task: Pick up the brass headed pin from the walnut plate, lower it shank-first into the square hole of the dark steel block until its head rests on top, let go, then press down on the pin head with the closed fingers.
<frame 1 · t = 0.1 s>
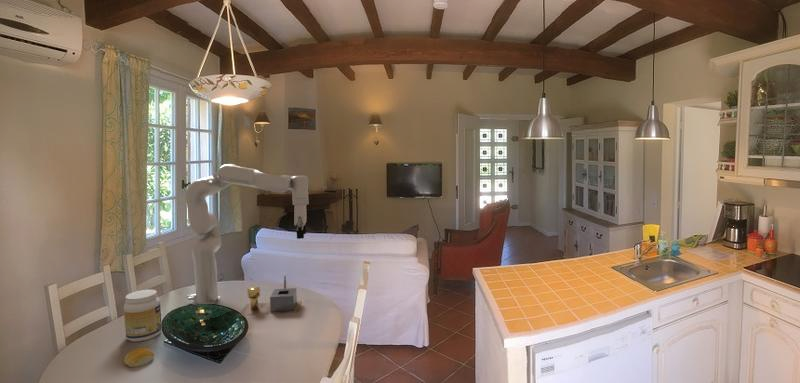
hand: (301, 236, 191), 31 cm above the table, tool pointing down, fingers open, 9 cm apart
hitch block: (284, 307, 179), resting on mount plate
tow hook: (288, 299, 194), on the table
bread roll: (139, 361, 137), on the table
supplement tub: (144, 335, 156), on the table
brass pin: (254, 308, 178), point 1 cm above the table, touching mount plate
mount plate: (271, 311, 179), on the table
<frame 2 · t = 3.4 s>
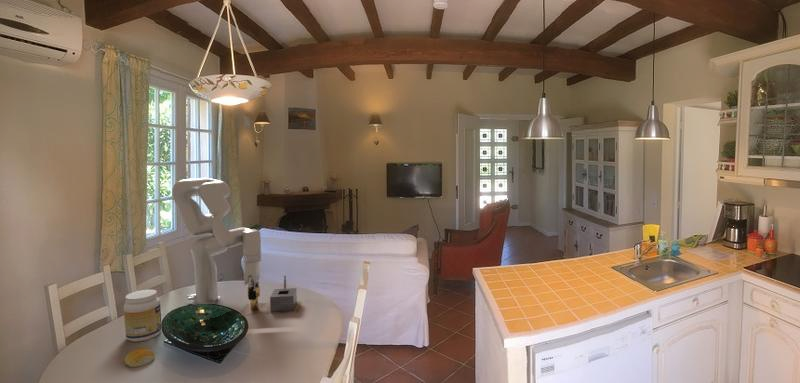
hand: (253, 296, 177), 7 cm above the table, tool pointing down, fingers closed on brass pin, 5 cm apart
brass pin: (254, 308, 178), point 2 cm above the table, touching gripper, mount plate
everything else where it was.
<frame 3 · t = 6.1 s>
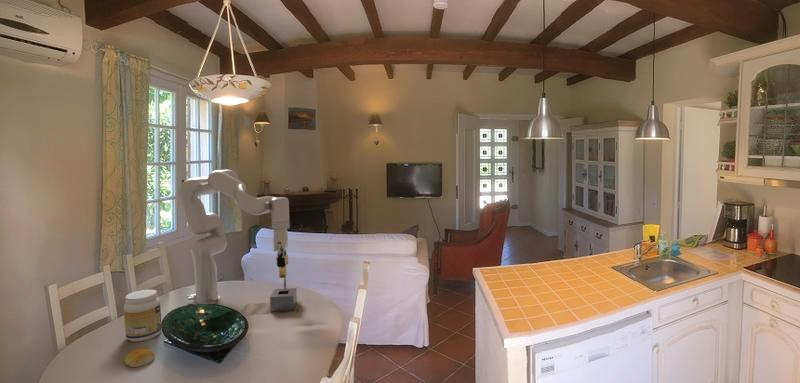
hand: (282, 264, 177), 22 cm above the table, tool pointing down, fingers closed on brass pin, 5 cm apart
brass pin: (282, 276, 178), point 16 cm above the table, touching gripper
everything else where it was.
when the fingers open (10 cm above the table, at t = 8.6 s): brass pin drops 1 cm, resting on hitch block.
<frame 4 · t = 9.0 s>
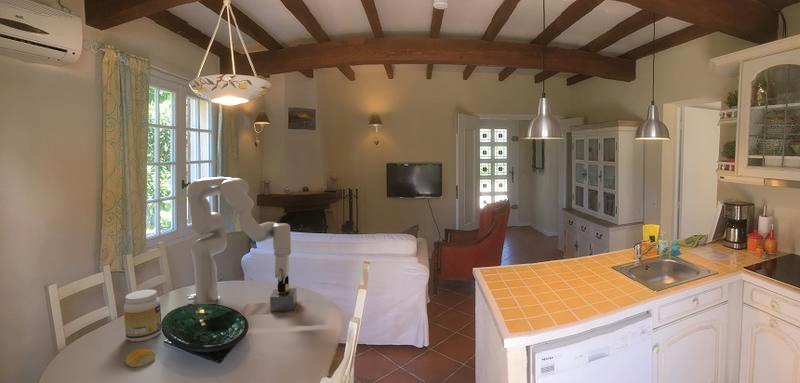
hand: (283, 288, 179), 10 cm above the table, tool pointing down, fingers open, 9 cm apart
brass pin: (283, 305, 179), point 2 cm above the table, touching hitch block
everything else where it was.
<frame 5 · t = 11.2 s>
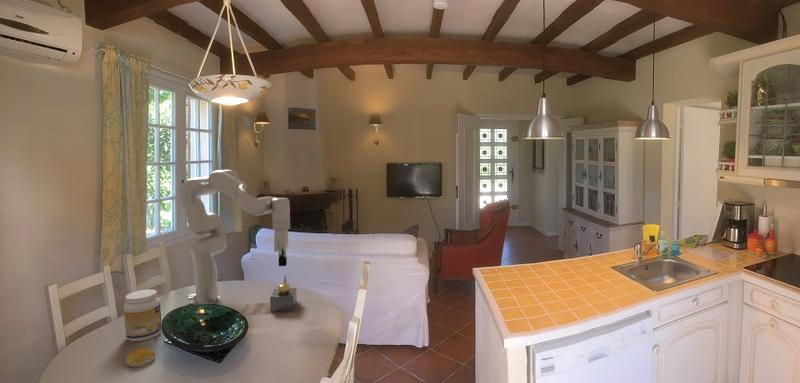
hand: (282, 265, 177), 21 cm above the table, tool pointing down, fingers closed
nothing on the table moved.
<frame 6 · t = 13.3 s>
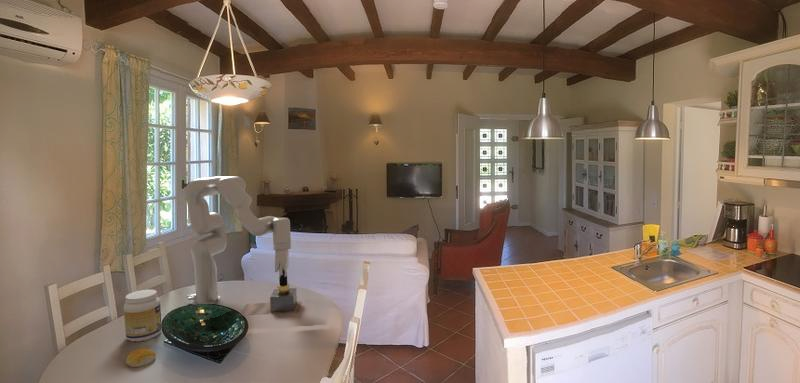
hand: (283, 285, 178), 12 cm above the table, tool pointing down, fingers closed
brass pin: (283, 305, 179), point 2 cm above the table, touching gripper, hitch block
everything else where it was.
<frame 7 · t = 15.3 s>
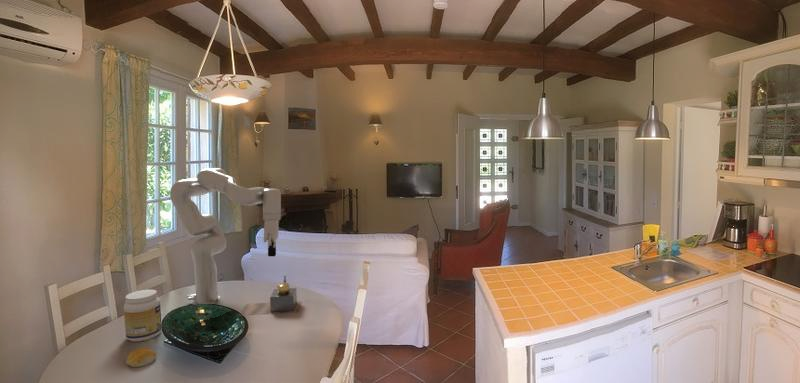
hand: (271, 255, 179), 25 cm above the table, tool pointing down, fingers closed
brass pin: (283, 305, 179), point 2 cm above the table, touching hitch block
everything else where it was.
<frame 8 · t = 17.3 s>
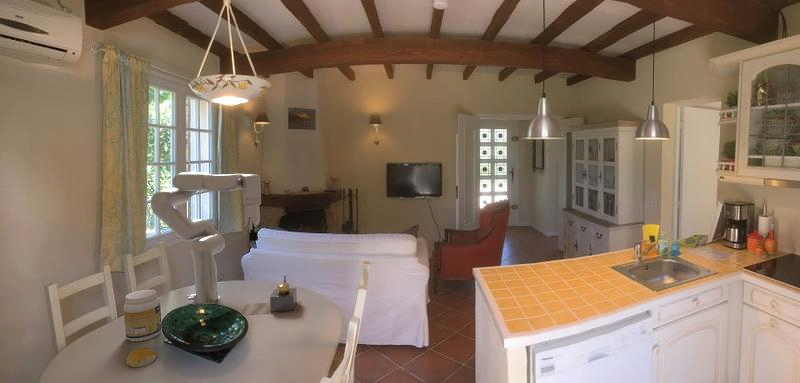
hand: (253, 240, 183), 31 cm above the table, tool pointing down, fingers closed
nothing on the table moved.
at the end: brass pin 0.0 cm off-centre on the hitch block, point 1.0 cm above the hitch block's base; brass pin tilted 0°; the gripper is holding nothing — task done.
